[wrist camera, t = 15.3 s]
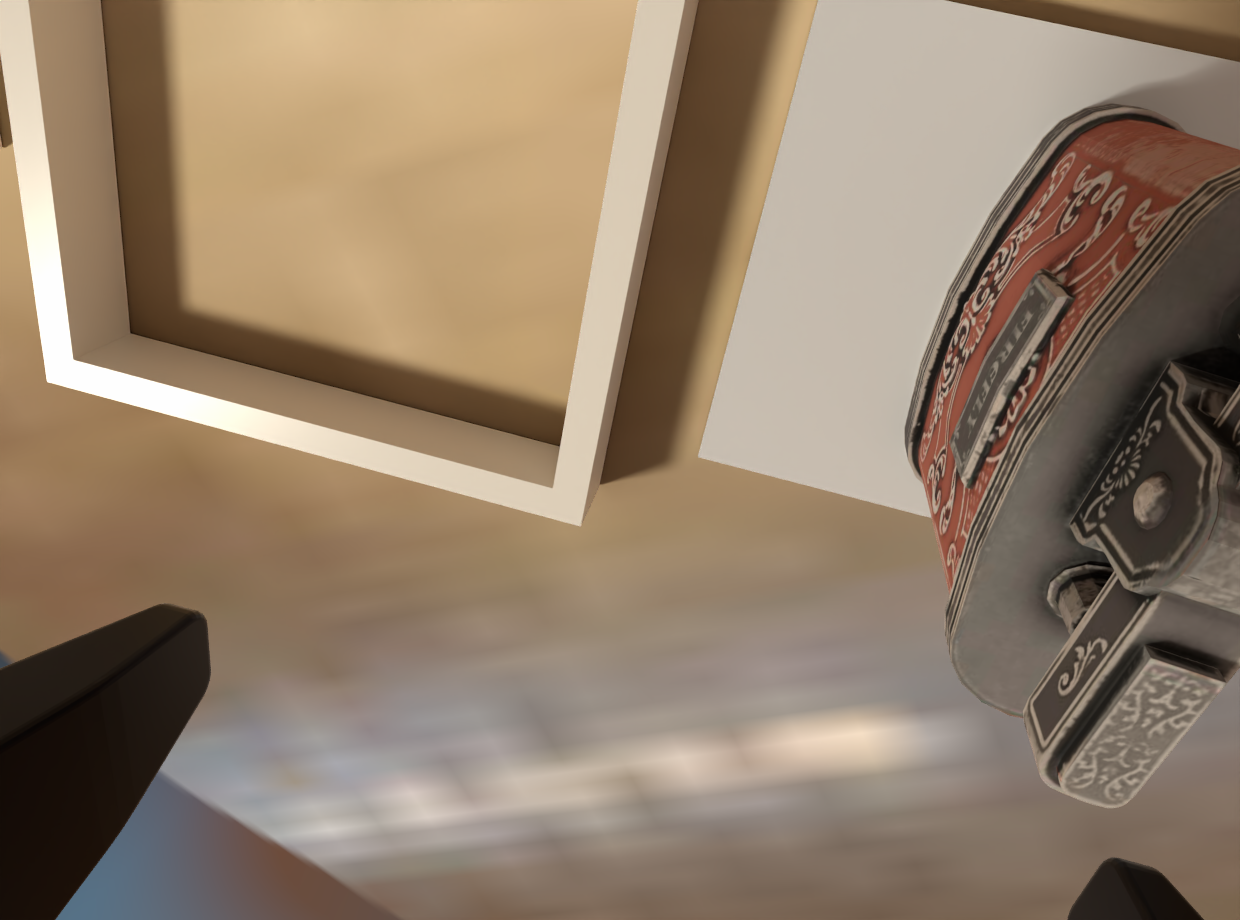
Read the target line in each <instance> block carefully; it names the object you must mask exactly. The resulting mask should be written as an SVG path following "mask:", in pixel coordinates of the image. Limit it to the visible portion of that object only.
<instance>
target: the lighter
mask: <svg viewBox="0 0 1240 920" xmlns="http://www.w3.org/2000/svg"><path fill="white" fill-rule="evenodd" d="M904 444H905V448H906V453H907V458H908V462H909V464H910V466H911V468H912V470H913V472H914V474H915V477H916V478H917V479H918V480H919V481H920V482H921V483H922V484H924V488H925V492H926V497H927V501H928V505H929V509H930V513H931V518H932V522H933V526H934V530H935V535H936V539H937V543H938V547H939V552H940V556H941V560H942V564H943V568H944V573H945V577H946V581H947V585H948V590H949V594H950V596H949V599H948V602H947V606H946V609H945V635H946V640H947V644H948V649H949V654H950V658H951V663H952V665H953V667H954V669H955V671H956V673H957V675H958V677H959V679H960V681H961V683H962V684H963V685H964V686H965V687H966V688H967V689H968V690H969V691H970V692H971V693H972V694H974V695H975V696H976V697H977V698H978V699H979V700H980V701H981V702H983V703H985V704H987V705H989V706H991V707H993V708H995V709H997V710H999V711H1001V712H1003V713H1006V714H1008V715H1010V716H1015V717H1020V718H1024V724H1025V727H1026V730H1027V734H1028V737H1029V740H1030V744H1031V747H1032V750H1033V754H1034V757H1035V760H1036V764H1037V767H1038V770H1039V774H1040V777H1041V778H1042V780H1043V781H1044V782H1045V783H1046V784H1047V785H1048V786H1049V787H1051V788H1053V789H1055V790H1057V791H1059V792H1061V793H1063V794H1066V795H1068V796H1071V797H1074V798H1076V799H1078V800H1081V801H1084V802H1087V803H1090V804H1093V805H1097V806H1101V807H1106V808H1118V807H1120V806H1123V805H1125V804H1126V803H1127V802H1129V801H1130V800H1131V799H1132V798H1133V797H1134V796H1135V795H1136V794H1137V793H1138V791H1139V790H1140V789H1141V788H1142V786H1143V785H1144V784H1145V783H1146V782H1147V780H1148V779H1149V778H1150V777H1151V776H1152V774H1153V773H1154V772H1155V771H1156V769H1157V768H1158V767H1159V766H1160V765H1161V763H1162V762H1163V761H1164V760H1165V758H1166V757H1167V756H1168V755H1169V754H1170V752H1171V751H1172V750H1173V749H1174V747H1175V746H1176V745H1177V744H1178V743H1179V741H1180V740H1181V739H1182V738H1183V736H1184V735H1185V734H1186V733H1187V732H1188V730H1189V729H1190V728H1191V727H1192V725H1193V724H1194V723H1195V722H1196V721H1197V719H1198V718H1199V717H1200V716H1201V714H1202V713H1203V712H1204V711H1205V710H1206V708H1207V707H1208V706H1209V705H1210V703H1211V702H1212V701H1213V700H1214V699H1215V697H1216V696H1217V695H1218V694H1219V692H1220V691H1221V690H1222V689H1223V688H1224V686H1225V685H1226V684H1227V683H1228V681H1229V680H1230V679H1231V678H1232V677H1233V675H1234V674H1235V673H1236V672H1237V670H1238V669H1239V668H1240V150H1239V149H1236V148H1232V147H1229V146H1226V145H1223V144H1219V143H1216V142H1213V141H1210V140H1206V139H1203V138H1200V137H1197V136H1194V135H1190V134H1187V133H1186V132H1185V131H1184V129H1183V128H1182V127H1181V126H1180V125H1179V124H1178V123H1177V122H1175V121H1173V120H1171V119H1169V118H1167V117H1165V116H1163V115H1161V114H1159V113H1157V112H1155V111H1152V110H1148V109H1144V108H1141V107H1136V106H1129V105H1121V104H1113V103H1110V104H1104V105H1098V106H1093V107H1087V108H1083V109H1081V110H1079V111H1077V112H1075V113H1073V114H1071V115H1069V116H1068V117H1066V118H1064V119H1062V120H1060V121H1059V122H1058V123H1057V124H1056V125H1055V126H1054V127H1053V128H1052V129H1051V130H1050V131H1049V132H1048V133H1047V134H1046V135H1045V136H1044V137H1043V138H1042V139H1041V140H1040V142H1039V143H1038V145H1037V146H1036V148H1035V149H1034V150H1033V152H1032V153H1031V155H1030V156H1029V158H1028V159H1027V160H1026V162H1025V163H1024V165H1023V166H1022V168H1021V169H1020V170H1019V172H1018V173H1017V175H1016V176H1015V178H1014V179H1013V180H1012V182H1011V183H1010V185H1009V186H1008V188H1007V189H1006V190H1005V192H1004V193H1003V195H1002V196H1001V198H1000V199H999V200H998V202H997V203H996V205H995V206H994V208H993V209H992V210H991V212H990V213H989V215H988V217H987V219H986V221H985V223H984V224H983V226H982V228H981V230H980V232H979V233H978V235H977V237H976V239H975V241H974V243H973V244H972V246H971V248H970V250H969V252H968V254H967V255H966V257H965V259H964V261H963V263H962V264H961V266H960V268H959V270H958V272H957V274H956V275H955V277H954V279H953V281H952V283H951V285H950V286H949V288H948V290H947V293H946V296H945V298H944V301H943V304H942V306H941V309H940V311H939V314H938V317H937V319H936V322H935V325H934V327H933V330H932V332H931V335H930V338H929V340H928V343H927V346H926V348H925V351H924V354H923V356H922V359H921V361H920V365H919V369H918V374H917V378H916V382H915V386H914V390H913V394H912V398H911V402H910V407H909V411H908V415H907V419H906V423H905V427H904Z"/></svg>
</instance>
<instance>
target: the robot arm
mask: <svg viewBox="0 0 1240 920" xmlns="http://www.w3.org/2000/svg"><path fill="white" fill-rule="evenodd" d="M210 675H211V667H210V653H209V640H208V627H207V620H206V618H205V617H204V615H203V614H202V613H200V612H199V611H196V610H192V609H188V608H185V607H181V606H177V605H173V604H166V603H164V604H159V605H156V606H153V607H151V608H148V609H146V610H143V611H141V612H138V613H136V614H133V615H131V616H129V617H126V618H124V619H121V620H119V621H116V622H114V623H111V624H109V625H106V626H104V627H101V628H99V629H96V630H94V631H92V632H89V633H87V634H84V635H82V636H79V637H77V638H74V639H72V640H69V641H67V642H64V643H62V644H59V645H57V646H55V647H52V648H50V649H47V650H45V651H42V652H40V653H37V654H35V655H32V656H30V657H27V658H25V659H22V660H20V661H18V662H15V663H13V664H10V665H8V666H5V667H3V668H0V920H55V919H56V918H57V917H58V915H59V914H60V913H61V911H62V910H63V909H64V907H65V906H66V905H67V903H68V902H69V901H70V899H71V898H72V896H73V895H74V894H75V893H76V891H77V890H78V889H79V887H80V886H81V885H82V883H83V882H84V881H85V879H86V878H87V877H88V875H89V874H90V873H91V871H92V870H93V868H94V867H95V866H96V865H97V863H98V862H99V861H100V859H101V858H102V857H103V855H104V854H105V853H106V851H107V850H108V848H109V847H110V846H111V844H112V843H113V841H114V840H115V838H116V837H117V836H118V835H119V833H120V832H121V830H122V829H123V827H124V826H125V824H126V823H127V821H128V819H129V818H130V816H131V815H132V813H133V812H134V810H135V808H136V807H137V805H138V804H139V802H140V800H141V799H142V797H143V796H144V794H145V792H146V791H147V789H148V787H149V786H150V784H151V782H152V781H153V779H154V777H155V776H156V774H157V772H158V771H159V769H160V767H161V766H162V764H163V762H164V761H165V759H166V757H167V756H168V754H169V753H170V751H171V749H172V748H173V746H174V744H175V743H176V741H177V739H178V738H179V736H180V734H181V733H182V731H183V729H184V728H185V726H186V724H187V723H188V721H189V719H190V718H191V716H192V715H193V713H194V711H195V710H196V708H197V706H198V705H199V703H200V701H201V700H202V698H203V696H204V694H205V692H206V690H207V687H208V684H209V681H210ZM1068 920H1204V919H1203V918H1202V917H1201V916H1200V915H1199V914H1198V912H1197V911H1196V910H1195V909H1194V908H1193V907H1192V906H1191V905H1190V904H1189V902H1188V901H1187V900H1186V899H1185V898H1184V897H1183V896H1182V895H1181V894H1180V893H1179V891H1178V890H1177V889H1176V888H1175V887H1174V886H1173V885H1172V884H1171V883H1170V881H1169V880H1168V879H1167V878H1166V877H1165V876H1164V875H1163V874H1162V873H1160V872H1159V871H1158V870H1156V869H1154V868H1152V867H1150V866H1146V865H1142V864H1139V863H1135V862H1131V861H1127V860H1124V859H1120V858H1109V859H1107V860H1105V861H1103V863H1102V864H1101V865H1100V866H1099V868H1098V869H1097V871H1096V872H1095V873H1094V875H1093V876H1092V878H1091V879H1090V881H1089V882H1088V884H1087V885H1086V887H1085V888H1084V890H1083V891H1082V893H1081V894H1080V895H1079V897H1078V898H1077V900H1076V901H1075V903H1074V904H1073V906H1072V908H1071V910H1070V912H1069V915H1068Z"/></svg>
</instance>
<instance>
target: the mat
mask: <svg viewBox="0 0 1240 920" xmlns="http://www.w3.org/2000/svg"><path fill="white" fill-rule="evenodd" d="M1110 103H1113V104H1121V105H1129V106H1136V107H1141V108H1144V109H1148V110H1152V111H1155V112H1157V113H1159V114H1161V115H1163V116H1165V117H1167V118H1169V119H1171V120H1173V121H1175V122H1177V123H1178V124H1179V125H1180V126H1181V127H1182V128H1183V129H1184V131H1185V132H1186V133H1187V134H1190V135H1194V136H1197V137H1200V138H1203V139H1206V140H1210V141H1213V142H1216V143H1219V144H1223V145H1226V146H1229V147H1232V148H1236V149H1239V150H1240V62H1237V61H1232V60H1227V59H1222V58H1217V57H1213V56H1208V55H1203V54H1198V53H1194V52H1189V51H1184V50H1179V49H1175V48H1170V47H1165V46H1160V45H1156V44H1151V43H1146V42H1141V41H1137V40H1132V39H1127V38H1122V37H1118V36H1113V35H1108V34H1103V33H1098V32H1094V31H1089V30H1084V29H1079V28H1075V27H1070V26H1065V25H1060V24H1056V23H1051V22H1046V21H1041V20H1037V19H1032V18H1027V17H1022V16H1018V15H1013V14H1008V13H1003V12H998V11H994V10H989V9H984V8H979V7H975V6H970V5H965V4H960V3H956V2H951V1H946V0H818V3H817V7H816V10H815V14H814V18H813V22H812V26H811V29H810V33H809V37H808V41H807V45H806V48H805V52H804V56H803V60H802V64H801V67H800V71H799V75H798V79H797V83H796V86H795V90H794V94H793V98H792V102H791V105H790V109H789V113H788V117H787V121H786V124H785V128H784V132H783V136H782V140H781V143H780V147H779V151H778V155H777V158H776V162H775V166H774V170H773V174H772V177H771V181H770V185H769V189H768V193H767V196H766V200H765V204H764V208H763V212H762V215H761V219H760V223H759V227H758V231H757V234H756V238H755V242H754V246H753V250H752V253H751V257H750V261H749V265H748V269H747V272H746V276H745V280H744V284H743V287H742V291H741V295H740V299H739V303H738V306H737V310H736V314H735V318H734V322H733V325H732V329H731V333H730V337H729V341H728V344H727V348H726V352H725V356H724V360H723V363H722V367H721V371H720V375H719V379H718V382H717V386H716V390H715V394H714V398H713V401H712V405H711V409H710V413H709V416H708V420H707V424H706V428H705V432H704V435H703V439H702V443H701V447H700V451H699V454H698V457H700V458H704V459H707V460H711V461H715V462H719V463H723V464H727V465H730V466H734V467H738V468H742V469H746V470H750V471H753V472H757V473H761V474H765V475H769V476H773V477H776V478H780V479H784V480H788V481H792V482H796V483H799V484H803V485H807V486H811V487H815V488H819V489H822V490H826V491H830V492H834V493H838V494H841V495H845V496H849V497H853V498H857V499H861V500H864V501H868V502H872V503H876V504H880V505H884V506H887V507H891V508H895V509H899V510H903V511H907V512H910V513H914V514H918V515H922V516H926V517H930V518H931V513H930V509H929V505H928V501H927V497H926V492H925V488H924V484H922V483H921V482H920V481H919V480H918V479H917V478H916V477H915V474H914V472H913V470H912V468H911V466H910V464H909V462H908V458H907V453H906V448H905V444H904V427H905V423H906V419H907V415H908V411H909V407H910V402H911V398H912V394H913V390H914V386H915V382H916V378H917V374H918V369H919V365H920V361H921V359H922V356H923V354H924V351H925V348H926V346H927V343H928V340H929V338H930V335H931V332H932V330H933V327H934V325H935V322H936V319H937V317H938V314H939V311H940V309H941V306H942V304H943V301H944V298H945V296H946V293H947V290H948V288H949V286H950V285H951V283H952V281H953V279H954V277H955V275H956V274H957V272H958V270H959V268H960V266H961V264H962V263H963V261H964V259H965V257H966V255H967V254H968V252H969V250H970V248H971V246H972V244H973V243H974V241H975V239H976V237H977V235H978V233H979V232H980V230H981V228H982V226H983V224H984V223H985V221H986V219H987V217H988V215H989V213H990V212H991V210H992V209H993V208H994V206H995V205H996V203H997V202H998V200H999V199H1000V198H1001V196H1002V195H1003V193H1004V192H1005V190H1006V189H1007V188H1008V186H1009V185H1010V183H1011V182H1012V180H1013V179H1014V178H1015V176H1016V175H1017V173H1018V172H1019V170H1020V169H1021V168H1022V166H1023V165H1024V163H1025V162H1026V160H1027V159H1028V158H1029V156H1030V155H1031V153H1032V152H1033V150H1034V149H1035V148H1036V146H1037V145H1038V143H1039V142H1040V140H1041V139H1042V138H1043V137H1044V136H1045V135H1046V134H1047V133H1048V132H1049V131H1050V130H1051V129H1052V128H1053V127H1054V126H1055V125H1056V124H1057V123H1058V122H1059V121H1060V120H1062V119H1064V118H1066V117H1068V116H1069V115H1071V114H1073V113H1075V112H1077V111H1079V110H1081V109H1083V108H1087V107H1093V106H1098V105H1104V104H1110Z"/></svg>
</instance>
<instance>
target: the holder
mask: <svg viewBox="0 0 1240 920" xmlns="http://www.w3.org/2000/svg"><path fill="white" fill-rule="evenodd" d="M698 2H699V0H638V5H637V10H636V16H635V22H634V27H633V33H632V39H631V45H630V50H629V56H628V62H627V67H626V73H625V79H624V84H623V90H622V96H621V102H620V107H619V113H618V119H617V124H616V130H615V136H614V142H613V147H612V153H611V159H610V164H609V170H608V176H607V182H606V187H605V193H604V199H603V204H602V210H601V216H600V222H599V227H598V233H597V239H596V244H595V250H594V256H593V262H592V267H591V273H590V279H589V284H588V290H587V296H586V302H585V307H584V313H583V319H582V324H581V330H580V336H579V342H578V347H577V353H576V359H575V364H574V370H573V376H572V382H571V387H570V393H569V399H568V404H567V410H566V416H565V422H564V427H563V433H562V439H561V444H560V447H559V446H555V445H552V444H548V443H544V442H540V441H536V440H533V439H529V438H525V437H521V436H517V435H514V434H510V433H506V432H502V431H499V430H495V429H491V428H487V427H483V426H480V425H476V424H472V423H468V422H464V421H461V420H457V419H453V418H449V417H445V416H442V415H438V414H434V413H430V412H426V411H423V410H419V409H415V408H411V407H408V406H404V405H400V404H396V403H392V402H389V401H385V400H381V399H377V398H373V397H370V396H366V395H362V394H358V393H354V392H351V391H347V390H343V389H339V388H335V387H332V386H328V385H324V384H320V383H317V382H313V381H309V380H305V379H301V378H298V377H294V376H290V375H286V374H282V373H279V372H275V371H271V370H267V369H263V368H260V367H256V366H252V365H248V364H244V363H241V362H237V361H233V360H229V359H226V358H222V357H218V356H214V355H210V354H207V353H203V352H199V351H195V350H191V349H188V348H184V347H180V346H176V345H172V344H169V343H165V342H161V341H157V340H154V339H150V338H146V337H142V336H138V335H135V334H131V333H130V323H129V312H128V301H127V290H126V279H125V267H124V256H123V245H122V234H121V223H120V211H119V200H118V189H117V178H116V167H115V155H114V144H113V133H112V122H111V111H110V99H109V88H108V77H107V66H106V55H105V44H104V32H103V21H102V10H101V0H0V55H1V62H2V69H3V76H4V83H5V90H6V97H7V104H8V111H9V118H10V125H11V132H12V139H13V146H14V153H15V160H16V167H17V174H18V181H19V188H20V195H21V202H22V209H23V216H24V223H25V230H26V237H27V244H28V251H29V258H30V265H31V272H32V279H33V286H34V293H35V300H36V307H37V314H38V321H39V328H40V335H41V342H42V349H43V356H44V364H45V371H46V378H47V382H50V383H54V384H57V385H61V386H65V387H68V388H72V389H76V390H79V391H83V392H87V393H90V394H94V395H98V396H101V397H105V398H109V399H113V400H116V401H120V402H124V403H127V404H131V405H135V406H138V407H142V408H146V409H149V410H153V411H157V412H160V413H164V414H168V415H172V416H175V417H179V418H183V419H186V420H190V421H194V422H197V423H201V424H205V425H208V426H212V427H216V428H219V429H223V430H227V431H230V432H234V433H238V434H242V435H245V436H249V437H253V438H256V439H260V440H264V441H267V442H271V443H275V444H278V445H282V446H286V447H289V448H293V449H297V450H301V451H304V452H308V453H312V454H315V455H319V456H323V457H326V458H330V459H334V460H337V461H341V462H345V463H348V464H352V465H356V466H359V467H363V468H367V469H371V470H374V471H378V472H382V473H385V474H389V475H393V476H396V477H400V478H404V479H407V480H411V481H415V482H418V483H422V484H426V485H430V486H433V487H437V488H441V489H444V490H448V491H452V492H455V493H459V494H463V495H466V496H470V497H474V498H477V499H481V500H485V501H488V502H492V503H496V504H500V505H503V506H507V507H511V508H514V509H518V510H522V511H525V512H529V513H533V514H536V515H540V516H544V517H547V518H551V519H555V520H558V521H562V522H566V523H570V524H573V525H577V526H581V525H582V523H583V521H584V518H585V516H586V514H587V512H588V510H589V507H590V505H591V503H592V501H593V499H594V497H595V494H596V492H597V490H598V488H599V485H600V480H601V475H602V471H603V466H604V461H605V456H606V451H607V446H608V441H609V436H610V432H611V427H612V422H613V417H614V412H615V407H616V402H617V397H618V392H619V388H620V383H621V378H622V373H623V368H624V363H625V358H626V353H627V349H628V344H629V339H630V334H631V329H632V324H633V319H634V314H635V309H636V305H637V300H638V295H639V290H640V285H641V280H642V275H643V270H644V266H645V261H646V256H647V251H648V246H649V241H650V236H651V231H652V226H653V222H654V217H655V212H656V207H657V202H658V197H659V192H660V187H661V183H662V178H663V173H664V168H665V163H666V158H667V153H668V148H669V144H670V139H671V134H672V129H673V124H674V119H675V114H676V109H677V104H678V100H679V95H680V90H681V85H682V80H683V75H684V70H685V65H686V61H687V56H688V51H689V46H690V41H691V36H692V31H693V26H694V21H695V17H696V12H697V7H698ZM0 149H2V143H1V136H0Z"/></svg>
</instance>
